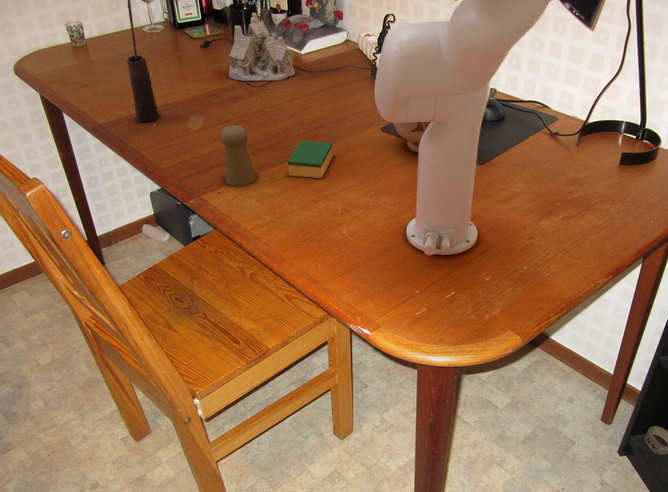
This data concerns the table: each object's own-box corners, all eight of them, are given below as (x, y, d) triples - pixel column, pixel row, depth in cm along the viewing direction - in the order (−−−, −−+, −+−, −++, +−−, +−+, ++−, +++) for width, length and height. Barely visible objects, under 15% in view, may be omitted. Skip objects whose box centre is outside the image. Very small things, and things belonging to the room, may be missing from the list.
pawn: (219, 181, 132) (210, 131, 125) (237, 169, 136) (229, 119, 129) (243, 188, 130) (235, 137, 123) (260, 175, 134) (254, 125, 127)
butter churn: (135, 131, 151) (103, 4, 134) (118, 119, 157) (85, -5, 139) (171, 121, 156) (144, -4, 138) (154, 109, 161) (126, -12, 144)
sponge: (321, 178, 133) (320, 164, 131) (288, 175, 134) (287, 161, 132) (332, 156, 140) (332, 142, 138) (301, 154, 141) (300, 140, 139)
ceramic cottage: (221, 72, 180) (216, 16, 171) (269, 61, 189) (267, 7, 179) (253, 91, 172) (250, 33, 162) (302, 78, 181) (302, 22, 171)
